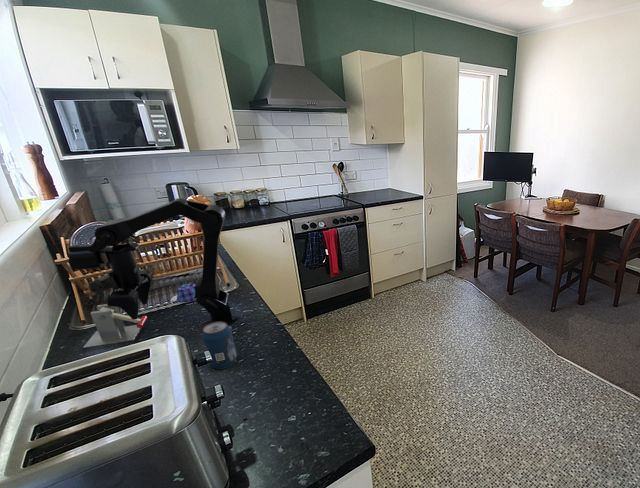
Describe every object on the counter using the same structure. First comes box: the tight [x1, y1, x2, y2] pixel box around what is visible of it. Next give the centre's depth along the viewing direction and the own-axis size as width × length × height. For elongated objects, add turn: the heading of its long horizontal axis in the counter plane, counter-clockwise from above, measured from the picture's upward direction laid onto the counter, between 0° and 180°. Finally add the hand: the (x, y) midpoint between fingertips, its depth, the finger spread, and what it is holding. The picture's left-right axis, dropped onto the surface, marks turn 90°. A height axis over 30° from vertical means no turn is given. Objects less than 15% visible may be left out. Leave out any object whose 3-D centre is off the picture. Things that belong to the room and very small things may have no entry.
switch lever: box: [100, 307, 148, 328], centre depth 105 cm, size 11×5×2 cm
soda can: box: [201, 321, 238, 370], centre depth 96 cm, size 7×7×12 cm
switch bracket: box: [82, 303, 144, 350], centre depth 104 cm, size 12×9×11 cm
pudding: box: [170, 283, 198, 306], centre depth 129 cm, size 12×12×5 cm
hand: (140, 311), depth 106 cm, fingers open, 9 cm apart
